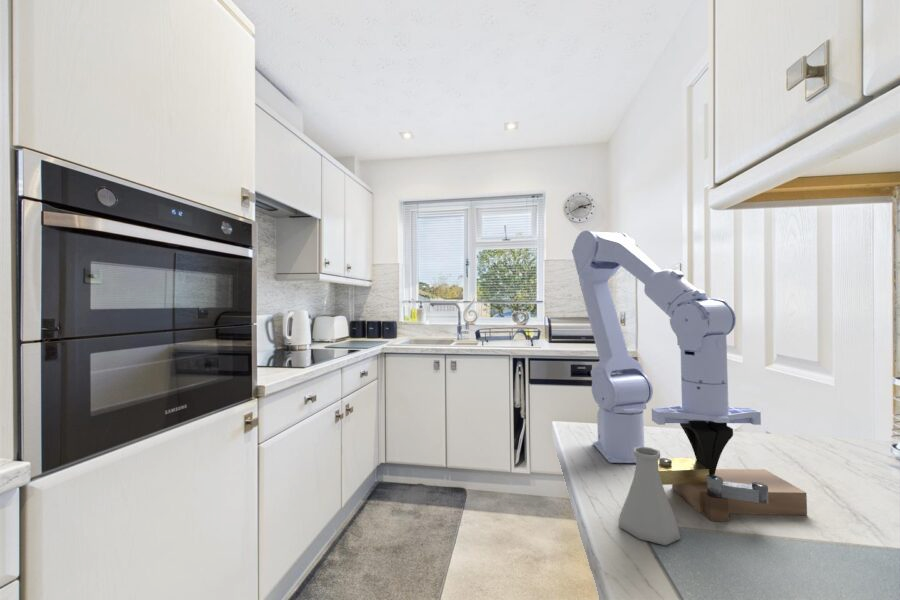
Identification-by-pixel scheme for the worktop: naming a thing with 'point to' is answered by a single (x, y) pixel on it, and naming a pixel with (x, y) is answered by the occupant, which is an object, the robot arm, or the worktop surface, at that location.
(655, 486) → the flask
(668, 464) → the lever cap
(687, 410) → the robot arm
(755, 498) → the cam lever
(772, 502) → the body
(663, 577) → the worktop surface
